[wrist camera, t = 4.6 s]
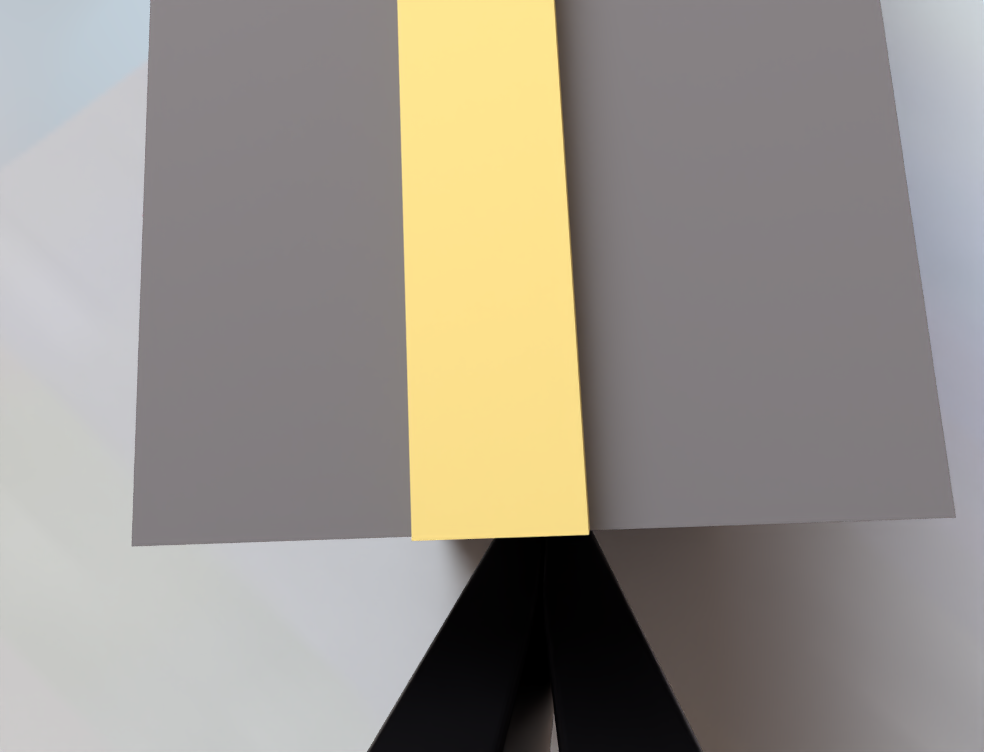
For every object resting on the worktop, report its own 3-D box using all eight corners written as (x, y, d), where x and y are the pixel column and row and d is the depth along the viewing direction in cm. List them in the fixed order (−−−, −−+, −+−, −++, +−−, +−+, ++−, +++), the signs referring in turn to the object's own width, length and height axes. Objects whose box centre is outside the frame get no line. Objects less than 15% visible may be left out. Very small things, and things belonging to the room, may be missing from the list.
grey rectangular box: (715, 491, 14) (988, 521, 4) (434, 502, 15) (96, 551, 5) (659, -102, 16) (750, -1034, 6) (416, -61, 17) (153, -819, 7)
